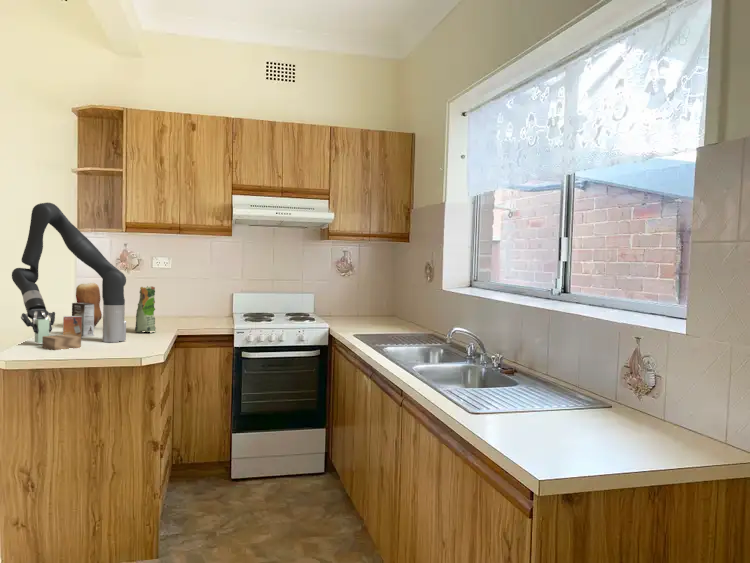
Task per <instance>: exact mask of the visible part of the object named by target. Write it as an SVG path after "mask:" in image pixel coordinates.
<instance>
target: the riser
mask: <svg viewBox="0 0 750 563" xmlns="http://www.w3.org/2000/svg"><path fill="white" fill-rule="evenodd" d="M41 344H42V348H43V347H44V348H43V349H47V348H48V349H49V350H51V349H52V351H59V350H60V351H62V350H61V349H63V350H70V349H69V348H73V349H78V348H79V349H80V347H82V336H81V337H79V336H74V335H69V334H68V335H63V334H59V335H56V334H55V335H49V336H43V342H42V343H41ZM48 349H47V350H48Z"/></svg>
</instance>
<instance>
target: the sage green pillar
mask: <svg viewBox="0 0 750 563" xmlns="http://www.w3.org/2000/svg"><path fill="white" fill-rule="evenodd" d="M49 321H50V318H48V319H36V324H37V327H38V329H39V332H38V334H36V333H35V332H34V343H38V344H42V342H43V336H50V333H49Z"/></svg>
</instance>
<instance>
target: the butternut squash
mask: <svg viewBox="0 0 750 563" xmlns="http://www.w3.org/2000/svg"><path fill="white" fill-rule="evenodd" d="M75 299H76V303H82V302H83V303H92V304H94V328H95V327H96V326H97V325H98V323H99V322H100V321H101V320H102V318H103V313H102V311H101V304H100V302H101V292H100V287H99V285H98V284H97V283H95V282H90V283H80V284H78V285H77V286H76V289H75Z"/></svg>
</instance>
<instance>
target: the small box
mask: <svg viewBox="0 0 750 563" xmlns="http://www.w3.org/2000/svg"><path fill="white" fill-rule="evenodd" d="M62 323H63V324H62V335H68V334H69V335H74V336H79V337H81V338H82V336H81V335H82V316H72V315H63V322H62Z"/></svg>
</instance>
